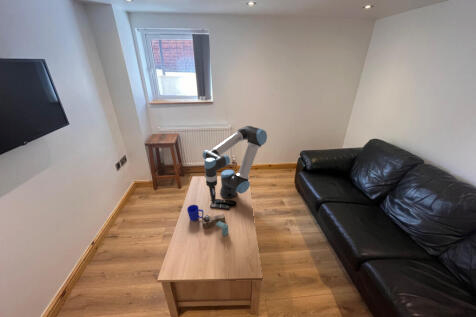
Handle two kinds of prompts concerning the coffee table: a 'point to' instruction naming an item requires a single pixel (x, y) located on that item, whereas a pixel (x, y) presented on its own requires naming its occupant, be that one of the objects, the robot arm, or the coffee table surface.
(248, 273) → the coffee table surface
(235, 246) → the coffee table surface
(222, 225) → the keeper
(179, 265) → the coffee table surface
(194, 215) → the mug
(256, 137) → the robot arm
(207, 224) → the link
